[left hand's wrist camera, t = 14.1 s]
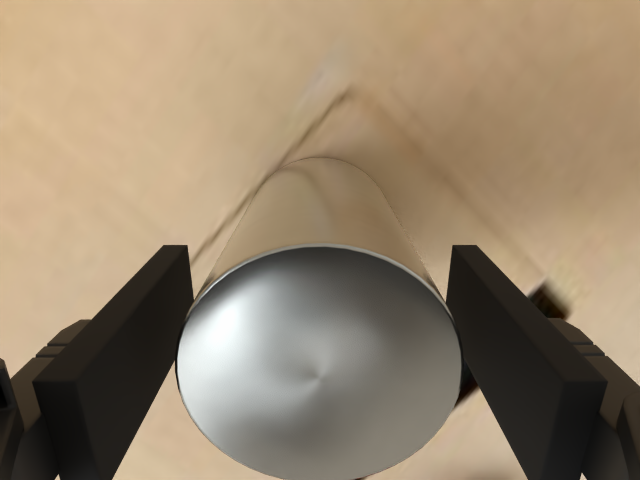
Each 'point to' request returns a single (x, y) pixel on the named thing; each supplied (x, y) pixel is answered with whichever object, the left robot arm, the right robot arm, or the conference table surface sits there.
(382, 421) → the can
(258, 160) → the conference table surface
